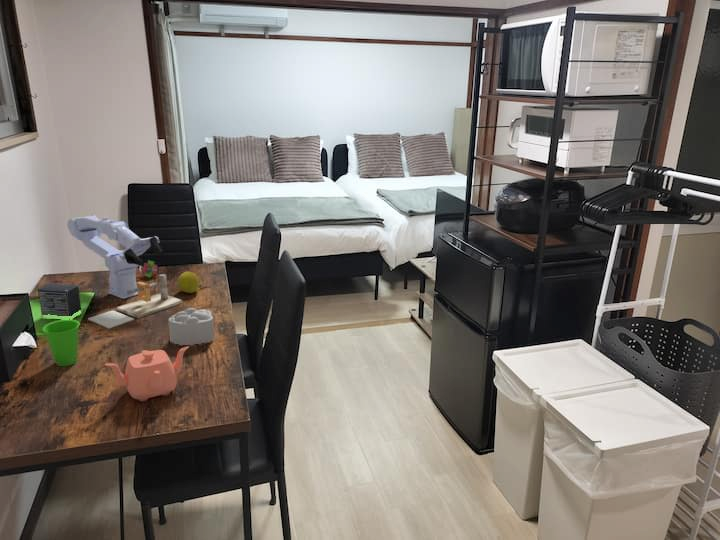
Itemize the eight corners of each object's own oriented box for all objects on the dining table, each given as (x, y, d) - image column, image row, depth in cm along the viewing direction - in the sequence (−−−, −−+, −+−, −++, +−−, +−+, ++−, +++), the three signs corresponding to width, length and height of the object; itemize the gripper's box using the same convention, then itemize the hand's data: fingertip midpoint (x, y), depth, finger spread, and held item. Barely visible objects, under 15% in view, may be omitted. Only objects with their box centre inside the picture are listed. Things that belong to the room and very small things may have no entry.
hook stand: (117, 309, 182) (113, 282, 179) (161, 295, 196) (159, 270, 193) (138, 318, 175) (135, 290, 172) (182, 302, 190) (180, 276, 187)
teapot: (192, 381, 139) (189, 343, 135) (162, 410, 125) (158, 370, 122) (143, 373, 141) (139, 336, 138) (108, 402, 128) (103, 362, 124)
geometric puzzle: (156, 266, 221) (144, 254, 216) (165, 269, 218) (154, 257, 212) (144, 279, 218) (132, 267, 213) (154, 283, 215) (142, 271, 209)
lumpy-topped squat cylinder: (215, 342, 161) (214, 316, 158) (170, 348, 156) (168, 321, 153) (211, 328, 170) (210, 304, 167) (169, 334, 165) (167, 308, 162)
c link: (138, 298, 184) (136, 282, 182) (142, 297, 185) (140, 281, 183) (147, 302, 181) (145, 285, 179) (151, 300, 183) (149, 284, 181)
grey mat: (87, 319, 173) (87, 318, 173) (113, 311, 180) (112, 310, 180) (109, 328, 167) (108, 327, 167) (134, 319, 174) (134, 318, 174)
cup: (47, 372, 140) (41, 335, 137) (48, 358, 148) (42, 322, 144) (85, 366, 144) (79, 329, 141) (84, 352, 152) (79, 317, 148)
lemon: (199, 296, 197) (198, 276, 194) (177, 297, 195) (176, 277, 192) (200, 286, 207) (199, 267, 204) (179, 287, 205) (178, 268, 202)
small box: (83, 313, 178) (79, 284, 175) (71, 321, 172) (67, 291, 168) (54, 311, 179) (49, 282, 175) (41, 319, 173) (36, 289, 169)
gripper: (109, 241, 178) (131, 259, 172) (147, 223, 187) (169, 240, 181) (114, 257, 183) (135, 275, 177) (150, 239, 192) (172, 256, 186)
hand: (153, 258), depth 179 cm, fingers open, 7 cm apart
